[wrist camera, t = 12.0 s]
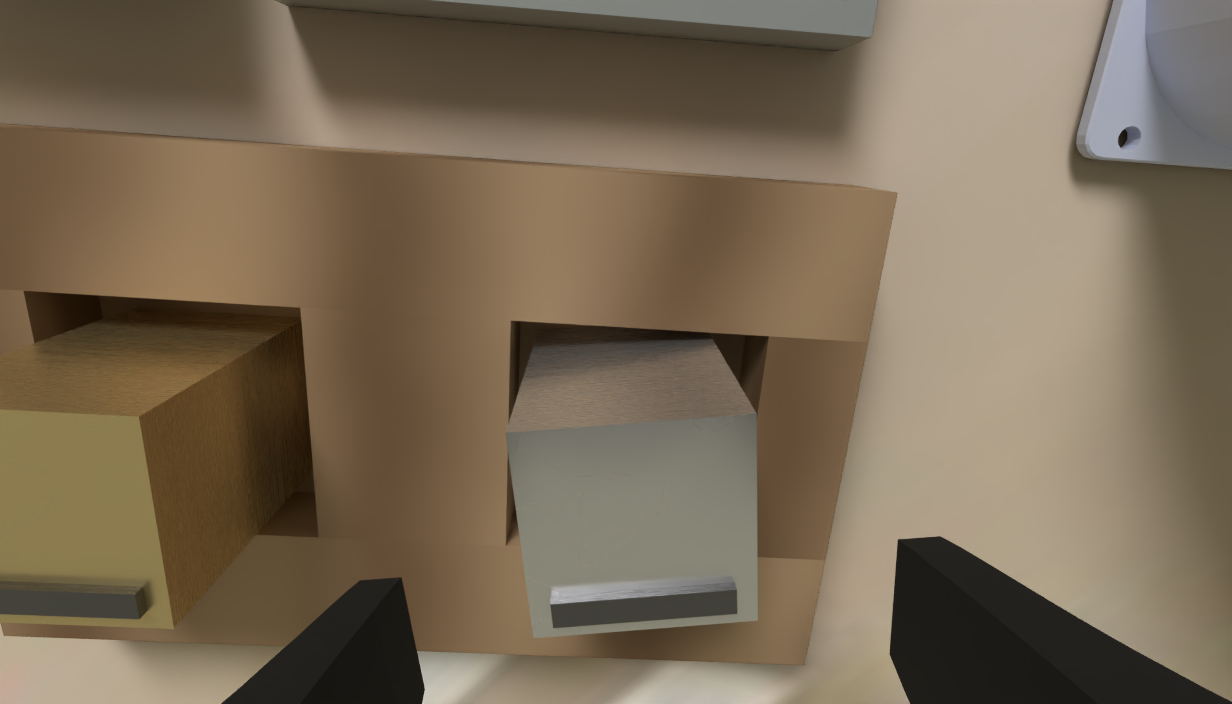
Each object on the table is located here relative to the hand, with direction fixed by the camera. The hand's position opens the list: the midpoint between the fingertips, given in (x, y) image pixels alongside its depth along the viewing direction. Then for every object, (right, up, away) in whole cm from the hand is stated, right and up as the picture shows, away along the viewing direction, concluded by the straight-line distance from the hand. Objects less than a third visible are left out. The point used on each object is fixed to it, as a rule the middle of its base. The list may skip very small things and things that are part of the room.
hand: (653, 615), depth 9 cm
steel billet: (0, +3, +7) cm, 8 cm away
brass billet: (-10, +3, +7) cm, 13 cm away
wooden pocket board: (-5, +3, +7) cm, 10 cm away
